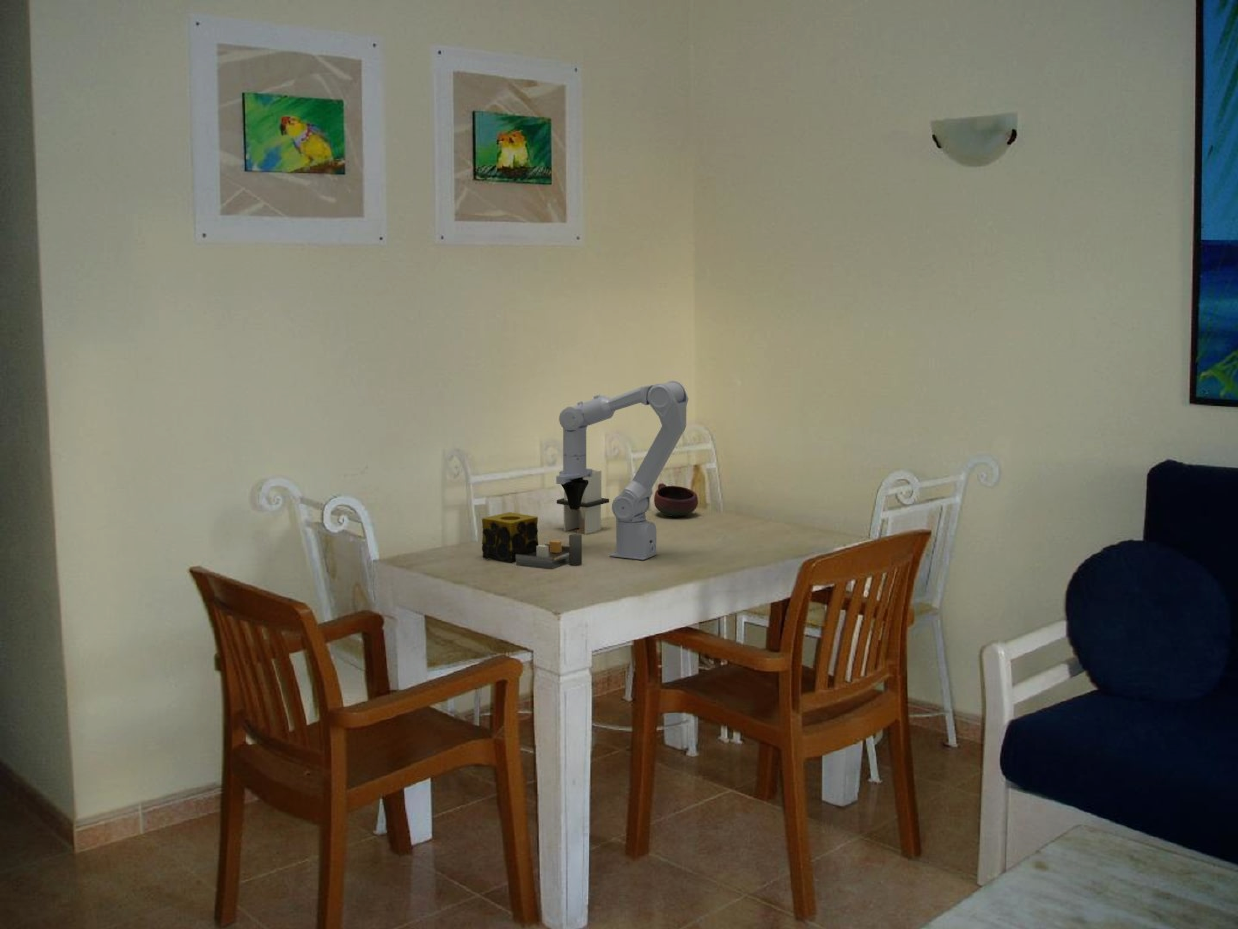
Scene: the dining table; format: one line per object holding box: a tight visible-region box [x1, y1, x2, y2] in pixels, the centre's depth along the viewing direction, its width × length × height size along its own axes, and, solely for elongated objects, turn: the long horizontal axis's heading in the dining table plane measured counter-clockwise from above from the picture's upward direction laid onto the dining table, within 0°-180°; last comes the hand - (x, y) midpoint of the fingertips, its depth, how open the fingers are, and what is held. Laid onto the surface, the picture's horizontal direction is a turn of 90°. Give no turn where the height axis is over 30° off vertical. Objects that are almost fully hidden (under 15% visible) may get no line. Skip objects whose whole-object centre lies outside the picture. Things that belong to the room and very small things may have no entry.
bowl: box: [653, 483, 699, 517], centre depth 367 cm, size 16×13×8 cm
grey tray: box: [515, 543, 569, 570], centre depth 307 cm, size 10×14×2 cm
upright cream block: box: [536, 544, 549, 557], centre depth 304 cm, size 2×2×2 cm
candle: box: [481, 511, 539, 564], centre depth 311 cm, size 10×10×10 cm
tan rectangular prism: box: [549, 540, 563, 553], centre depth 309 cm, size 2×2×2 cm
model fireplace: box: [556, 469, 610, 535], centre depth 344 cm, size 25×24×16 cm
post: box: [568, 533, 583, 567], centre depth 303 cm, size 3×3×7 cm
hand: (574, 509), depth 318 cm, fingers closed
